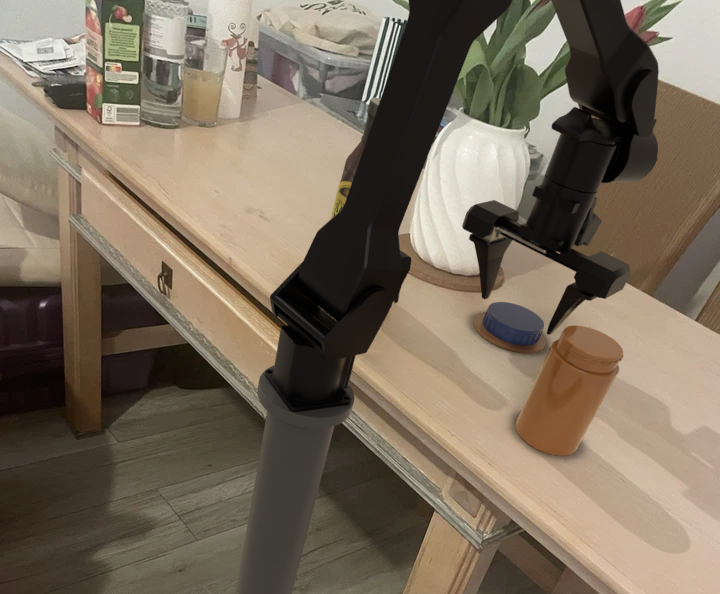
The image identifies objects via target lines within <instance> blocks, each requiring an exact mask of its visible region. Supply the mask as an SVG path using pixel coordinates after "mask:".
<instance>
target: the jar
mask: <svg viewBox="0 0 720 594" xmlns="http://www.w3.org/2000/svg"><path fill="white" fill-rule="evenodd" d="M624 356H625V355H624V350H623V347H622V346H621V345H620V343H619V342H617V340H615V339H614V338H612V337H611V336H609V335H608V334H606V333H604V332H602V331H600V330H597V329H594V328H592V327H588V326H583V325H568V326H566V327H565V328H563V330H562V332H561V334H560V336H559V338H558V339H556V340H554V341H553V342H552V343H551V345H550V347H549V349H548V351H547V353H546V355H545V358H544V360H543V363H542V364H541V367H540V369H539V371H538V374H537V376H536V378H535V380H534V382H533V385H532V386H531V388H530V391H529V393H528V395H527V397H526V400H525V401H524V403H523V406H522V408H521V410H520V412H519V415H518V417H517V418H516V421H515V429H516V432H517V434H518V436H519V437H520V438H521V439H522V440H523V441H524V442H525V443H526V444H528V445H529V446H531V447H532V448H534V449H536V450H538V451H540V452H542V453H546V454H548V455H553V456H570V455H572V454H574V453H575V452H576V451H577V450H578V448H579V447H580V445H581V443H582V441H583V439H584V437H585V435H586V433H587V432H588V430H589V428H590V426H591V424H592V422H593V421H594V418H595V417H596V415H597V413H598V412H599V409H600V408H601V406H602V404H603V402H604V400H605V398H606V396H607V395H608V393H609V392H610V390H611V387H612V386H613V384H614V382H615V381H616V379H617V376H618V375H619V373H620V366H619V363H620V362H622V360H623V358H624Z"/></svg>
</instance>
